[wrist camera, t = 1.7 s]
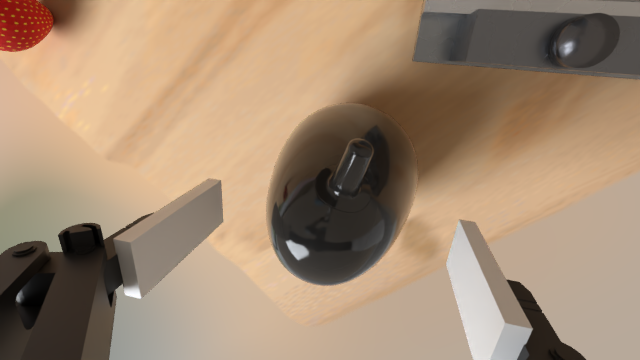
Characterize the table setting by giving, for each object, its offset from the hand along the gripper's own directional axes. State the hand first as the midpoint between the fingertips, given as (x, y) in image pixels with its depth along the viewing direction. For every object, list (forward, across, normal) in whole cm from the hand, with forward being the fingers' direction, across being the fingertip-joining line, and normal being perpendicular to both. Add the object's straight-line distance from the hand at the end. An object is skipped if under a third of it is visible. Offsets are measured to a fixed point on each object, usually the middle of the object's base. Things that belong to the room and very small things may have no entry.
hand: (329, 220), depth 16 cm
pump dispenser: (+11, 0, +1) cm, 11 cm away
